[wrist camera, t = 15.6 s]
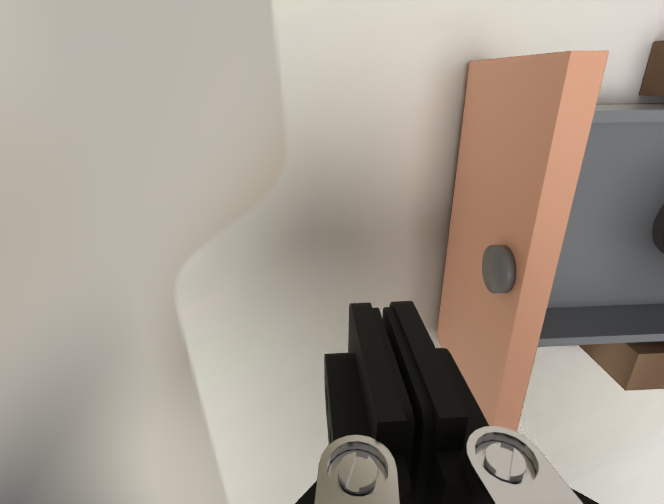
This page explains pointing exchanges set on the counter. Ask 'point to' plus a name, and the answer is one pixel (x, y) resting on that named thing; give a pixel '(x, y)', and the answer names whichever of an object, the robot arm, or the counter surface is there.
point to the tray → (549, 223)
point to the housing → (639, 357)
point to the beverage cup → (659, 230)
